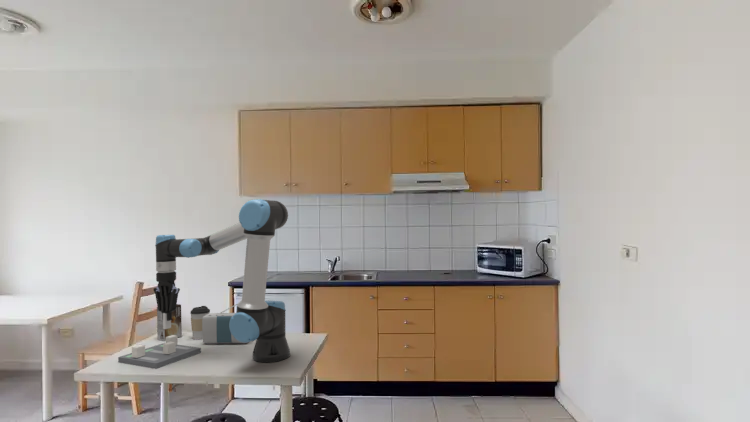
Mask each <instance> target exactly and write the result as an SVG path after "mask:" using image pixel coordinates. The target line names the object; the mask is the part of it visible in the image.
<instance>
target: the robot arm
mask: <svg viewBox="0 0 750 422" xmlns="http://www.w3.org/2000/svg"><path fill="white" fill-rule="evenodd" d="M288 219H289V211H288V209H287V206H285V205H284V203H282V202H281V201H278V200H270V199H268V200H267V199H261V198H260V199H258V198H256V199H251V200H248V201H246V202H245V203H243V205H242V206H241V207H240V210H239V214H238V221H239V222H238V223H237V222H236V224H235V223H234V224H232V225H231V226H228V227H226V228H224V229H222V230H219V231H217V232H215V233H212V234H210V235H208V236H205V237H197V238H196V237H195V238H182V239H181V238H179V239H176V235H175V234H158V235H156V237H155V245H154V246H155V268H156V269H155V271H156V275H155V276H156V277H155V280H156V282H158V283H157V286H156V287H154V288H153V292H154V294H155V295H154V296H155V301H156V306H157V307H158V311H161V312H162V320H163V329H168V328H171V320H172V312H173V311H175V310H176V304H178V303H177V302H178V297H179V293H180V290H181V289H180V288H177V287H176V282H175V281H176V280H177V272H176V270H177V258H195V257H199V256H200V257H201V256H212V255H216V254H217V253H219V252H220V251H221V250H222V249H225V248H227V247H229V246H233V245H234V244H236V243H240V242H242V241H243V240H246V247H245V248H246V249H245V259H244V270H243V271H244V272H243V280H242V281H243V284H242V293H241V300H240V301H239V302H238V303H236V304H237V305H236V312H234V313H235V314H234V315H233V316H232V317H231V319H230V322H229V328H230V331H231V334H232V335H233V336H234V338H235V339H236V340H238V341H240V342H244V343H245V344H247V343H250V342H254V341H255V343H254V347H253V351H252V360H253V361H255V362H258V363H274V362H280V361H283V360H286V359H288V358H290V356H291V350H290V347H289V343H288V340H287V336H286V335H287V334H286V305H285V302H283V301H282V300H266V292H267V291H266V290H267V279H268V268H269V258H270V246H271V239H273V238H274V237H275V235H276V230H279V229H281V228H282V227H284V226H285V225H286V224H287V221H288ZM244 343H243V344H244Z"/></svg>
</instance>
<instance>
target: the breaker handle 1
mask: <svg viewBox="0 0 750 422" xmlns="http://www.w3.org/2000/svg"><path fill="white" fill-rule="evenodd" d="M145 349H146V345H144V344H137V345H134V346H131V353H132V357H135V358H138V357H141V356H144V355H145Z"/></svg>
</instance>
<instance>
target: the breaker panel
mask: <svg viewBox="0 0 750 422" xmlns="http://www.w3.org/2000/svg"><path fill="white" fill-rule="evenodd" d="M164 343H165V342H163V343H160V344H157V345H154V346H150V347H147V348H146V347H145V355H144V356H141V357H138V358H135V357H132V352H131V353H127V354H124V355H121V356H118V357H117V359H118V363H122V364H126V365H133V366H138V367H145V368H151V369H154V370H155V369H159V368H162V367H165V366H168V365H170V364H173V363H176V362H179V361H182V360H185V359H187V358H190V357H192V356H196V355H198V354H201V352H202V350H201V349H202V348H201V347H198V346H190V345H183V344H178V345H176V352H174V353H171V354H163V344H164Z"/></svg>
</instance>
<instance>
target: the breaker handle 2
mask: <svg viewBox="0 0 750 422" xmlns="http://www.w3.org/2000/svg"><path fill="white" fill-rule="evenodd" d="M170 341H171V342H176V345H179V344H178V338H177V336H176V335H171V336H168V337H166V341H165V343H167V342H170Z"/></svg>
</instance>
